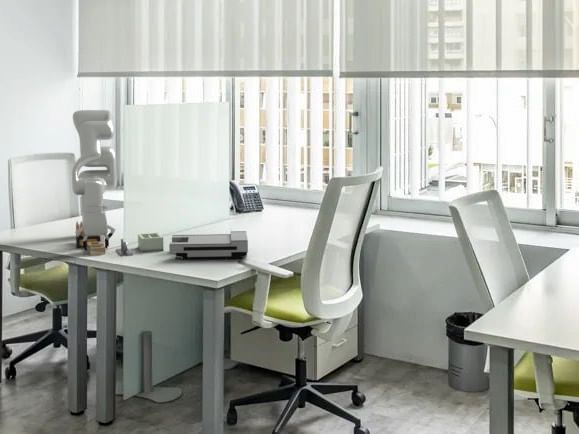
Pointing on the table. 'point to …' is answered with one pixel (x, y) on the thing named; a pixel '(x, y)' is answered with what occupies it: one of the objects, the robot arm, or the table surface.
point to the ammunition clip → (89, 239)
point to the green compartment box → (150, 242)
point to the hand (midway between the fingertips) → (96, 248)
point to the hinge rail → (124, 249)
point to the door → (96, 248)
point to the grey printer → (210, 246)
